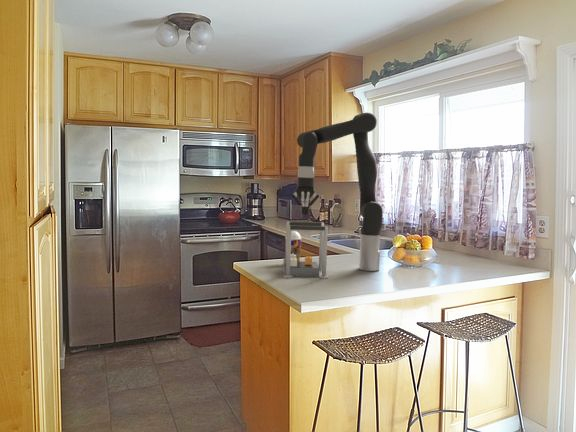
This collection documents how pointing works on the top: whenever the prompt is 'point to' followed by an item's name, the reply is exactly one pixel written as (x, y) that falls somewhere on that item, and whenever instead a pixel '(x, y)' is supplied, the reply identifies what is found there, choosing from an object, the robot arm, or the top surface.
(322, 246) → the gray open frame stand
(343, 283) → the top surface
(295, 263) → the toggle white near
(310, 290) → the top surface
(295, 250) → the smoothie
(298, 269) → the gray open tray
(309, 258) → the toggle orange
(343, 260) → the top surface
